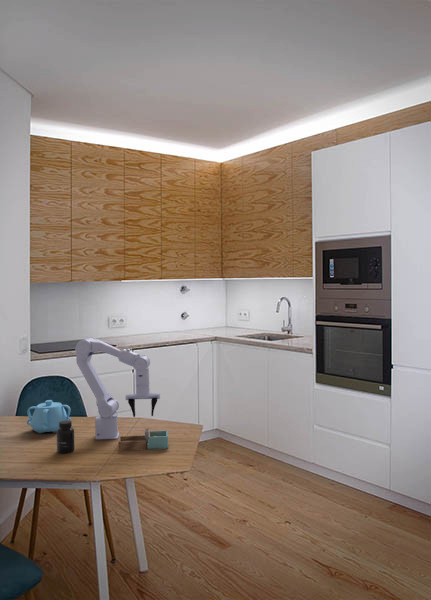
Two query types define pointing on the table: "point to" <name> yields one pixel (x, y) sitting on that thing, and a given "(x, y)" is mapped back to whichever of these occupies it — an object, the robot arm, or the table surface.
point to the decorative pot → (48, 416)
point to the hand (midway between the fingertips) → (143, 415)
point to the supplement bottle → (65, 437)
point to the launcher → (132, 443)
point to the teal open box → (158, 440)
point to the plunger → (147, 435)
